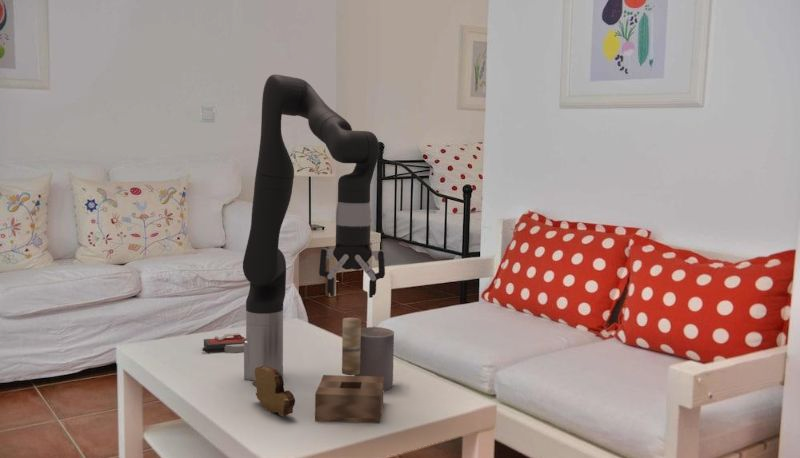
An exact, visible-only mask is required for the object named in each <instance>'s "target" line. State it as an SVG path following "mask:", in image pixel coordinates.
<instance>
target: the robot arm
mask: <svg viewBox="0 0 800 458" xmlns="http://www.w3.org/2000/svg"><path fill="white" fill-rule="evenodd" d="M263 87H264V88H263V92H262V101H261V123H260V124H261V125H260V141H259V150H258V157H257V163H256V164H257V165H256V169H255V170H256V171H255V176H254V177H255V179H254V185H253V186H254V187H253V198H252V206H251V207H252V209H251V219H250V220H251V222H250V229H249V234H248V239H247V244H246V247H245V252H244V256H243V261H242V272H243V274H244V277H245V278H246V280H247V281H248V283H249V290H248V295H247V297H246V301H245V339H246V340H245V342H244V352H243V379H244V380H250V381H252V382H253V381H256V377H255V368H257V367H262V366H265V367H266V366H270V367H273V368H274V369H276V370H277V371H278V372H279V373H281V375H282V377H283V376H284V302H285V297H286V283H287V279H286V278H287V263H286V257H285V255H284V253H283V252H282V250H281V249H279V240H280V233H281V229H282V225H283V223H284V220H285V217H286V214H287V211H288V208H289V205H290V202H291V197H292V194H293V193H292V192H293V186H294V177H295V167H294V164H293V161H292V160H291V159H292V158H291V156H290V153H289V152H288V150H287V147H286V145H285V142H284V138H283V135H282V117H283V116H282V115H284V116H289V117H290V116H291V117H302V118H304V119H307V123H308V128H309V130H310V131H311V132H312V134H313V135H314V136H315V137H316V138H318V140H320V141H321V142H323V144H325V146H326V148H327V150H328V152H329V155H330V156H331V158H333V160H335V161H336V162H338V163H341V164H355V166H354V169H353V170H352V172H350V173H347V174H343V175H341V176H340V177H339V178H338V181H337V182H338V183H337V204H336V205H337V206H336V212H335V215H336V216H335V217H336V218H335V248H333V249H329V248H327V247H322V249H321V250H320V257H319V270H318V271H319V272H318V274H319V276H320V277H324V278H325V279H326V280H327V287H326V288H327V289H326V291H327V293H328V294H329V296H330V297H334V296H335V289H336V288H335V287H336V286H335V285H336V283H335V281H336V279H335V277H334V276H336V275H337V273H338V272H339V271H340V269H341V268H342V269H344V270H351V269H352V270H355V271H357V270H358V271H359V270H361V269H363V271H364V272H365V274H367V276H368V277H369V281H368V282H369V284H368V287H369V289H368V298H369V299H370V298H373V296H375V295H376V293H377V281H378V280H380V279H384V278H385V276H386V266H385V265H386V264H385V250H384V249H380V250H372V248H371V223H372V214H371V213H372V211H371V185H372V180H373V176H374V173H375V170H376V165H377V162H378V158H379V155H380V143H379V140H378V137H377V136H376V135H375V133H373V132H371V131H368V130H353V128H352V125H351V124H350V123H349V122H348V121H347V120H346V119H345V118H343V117H342V116H341V115H340V114H338V113H337V112H336V111H334V110H333V109H332V108H330V106H328V105H327V103H325V101H324V100H323V99H322V98H321V97H320V95H319V94H318V93H317V92H316V90H315V89H314V87H313V86H311V84H310V83H309V82H307V80H305V79H302V78H298V77H292V76H289V75H288V76H287V75H282V74H271V75H269V76H268V78H267V79H266V80H265V84H264V86H263ZM332 255H333V257H334V258H335V259H336V261H337V263H336V264H335V265H334V266H333V268H332V269H331V270H330V271H329V270H327V267H328V266H327V264H328V260H329V259H330V258H331V256H332ZM371 257H373V258H374V260H375V261H378V263H377V264H378V272H375V271H374V270H373V268H372V266H371V265H370V264H369V260H370V259H371ZM283 378H284V377H283Z"/></svg>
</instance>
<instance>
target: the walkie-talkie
mask: <svg viewBox="0 0 800 458" xmlns="http://www.w3.org/2000/svg"><path fill="white" fill-rule="evenodd" d="M245 340H246V337H244V336H242V334H241V333H238V332H235V333H224V335H223V336H221V337H219V336H218V335H215V336H214V338H205V339H203V348H202V350H201V351H202V352H205V353H206V354H213V353H214V354H215V353H228V354H229V353H230V354H238V353H244V342H245Z"/></svg>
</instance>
